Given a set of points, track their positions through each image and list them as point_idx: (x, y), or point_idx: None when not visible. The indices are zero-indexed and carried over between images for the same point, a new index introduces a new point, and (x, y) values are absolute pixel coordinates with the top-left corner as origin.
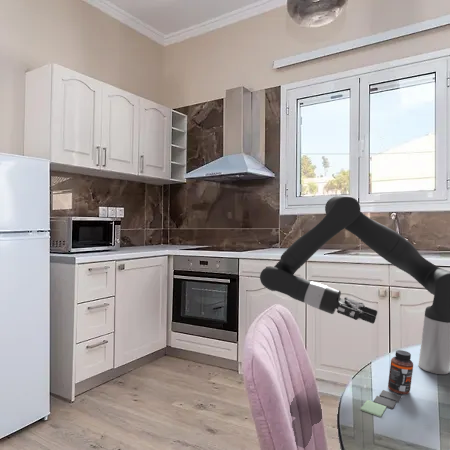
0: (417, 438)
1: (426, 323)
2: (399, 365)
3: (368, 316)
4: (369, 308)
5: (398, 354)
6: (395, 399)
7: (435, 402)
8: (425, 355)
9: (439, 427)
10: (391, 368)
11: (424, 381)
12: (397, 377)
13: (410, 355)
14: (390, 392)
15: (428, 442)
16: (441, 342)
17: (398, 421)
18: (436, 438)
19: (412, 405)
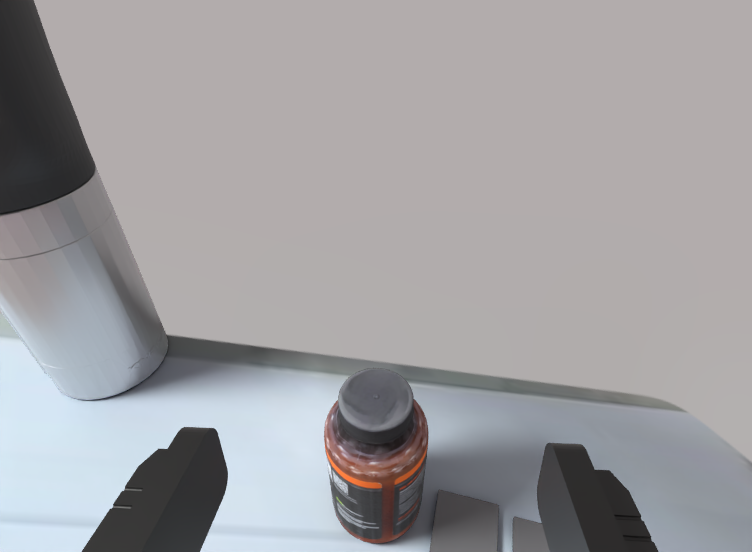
0: (716, 466)
1: (23, 242)
2: (426, 443)
3: (644, 538)
4: (161, 517)
5: (404, 423)
6: (492, 517)
7: None
8: (110, 348)
9: (578, 399)
10: (397, 493)
11: (243, 398)
12: (422, 478)
13: (389, 371)
14: (434, 535)
15: (706, 438)
16: (126, 259)
17: (660, 519)
18: (657, 415)
19: (483, 458)
